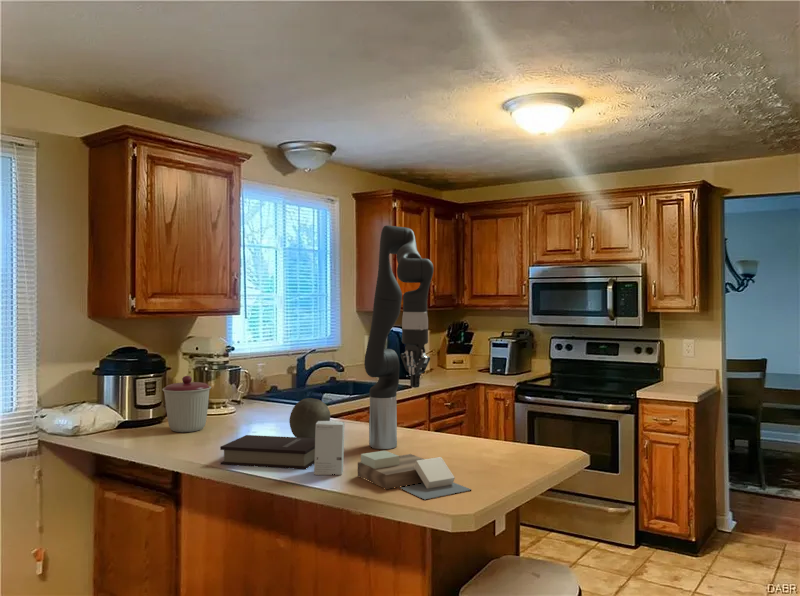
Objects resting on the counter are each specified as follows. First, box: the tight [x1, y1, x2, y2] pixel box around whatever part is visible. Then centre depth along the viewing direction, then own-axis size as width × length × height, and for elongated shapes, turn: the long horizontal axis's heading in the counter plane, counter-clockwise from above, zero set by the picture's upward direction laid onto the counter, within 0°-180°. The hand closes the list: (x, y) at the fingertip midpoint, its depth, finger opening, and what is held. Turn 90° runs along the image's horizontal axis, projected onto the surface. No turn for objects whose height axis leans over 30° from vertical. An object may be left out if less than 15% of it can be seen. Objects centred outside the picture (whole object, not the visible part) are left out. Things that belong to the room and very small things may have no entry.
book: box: [220, 434, 315, 470], centre depth 211 cm, size 28×20×6 cm
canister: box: [162, 375, 212, 433], centre depth 258 cm, size 18×18×21 cm
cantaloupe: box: [289, 397, 331, 438], centre depth 238 cm, size 14×14×15 cm
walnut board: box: [357, 453, 424, 490], centre depth 188 cm, size 16×18×4 cm
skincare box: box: [313, 420, 345, 476], centre depth 194 cm, size 8×6×15 cm
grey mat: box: [399, 481, 472, 501], centre depth 177 cm, size 12×15×1 cm
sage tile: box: [360, 449, 400, 469], centre depth 188 cm, size 8×8×2 cm
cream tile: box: [414, 456, 455, 489], centre depth 181 cm, size 8×8×2 cm
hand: (414, 387), depth 192 cm, fingers closed
